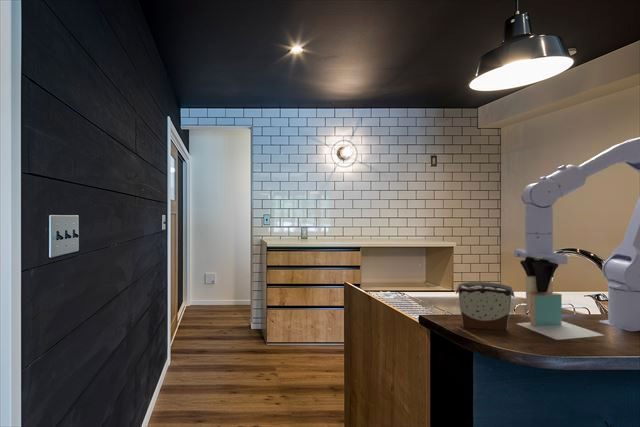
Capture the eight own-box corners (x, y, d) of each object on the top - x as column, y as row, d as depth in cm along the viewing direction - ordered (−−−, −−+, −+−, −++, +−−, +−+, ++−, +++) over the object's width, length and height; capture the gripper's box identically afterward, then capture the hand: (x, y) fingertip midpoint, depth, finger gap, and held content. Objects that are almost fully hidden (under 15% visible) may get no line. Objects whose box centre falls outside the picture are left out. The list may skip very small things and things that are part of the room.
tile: (556, 322, 95) (556, 293, 94) (561, 324, 93) (561, 294, 93) (530, 324, 93) (530, 294, 93) (535, 326, 91) (535, 296, 91)
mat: (559, 322, 97) (559, 320, 97) (604, 337, 85) (604, 335, 85) (515, 325, 94) (515, 323, 94) (556, 342, 82) (556, 339, 82)
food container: (509, 325, 95) (509, 282, 94) (514, 333, 89) (514, 287, 89) (454, 321, 98) (454, 280, 98) (455, 328, 92) (455, 285, 92)
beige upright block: (547, 307, 97) (547, 274, 96) (553, 309, 95) (552, 275, 95) (526, 310, 95) (525, 276, 95) (531, 311, 94) (530, 277, 94)
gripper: (503, 232, 101) (503, 286, 101) (548, 235, 87) (548, 298, 87) (527, 231, 103) (527, 284, 103) (575, 235, 88) (575, 296, 89)
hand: (538, 291), depth 95 cm, fingers closed on beige upright block, 2 cm apart
